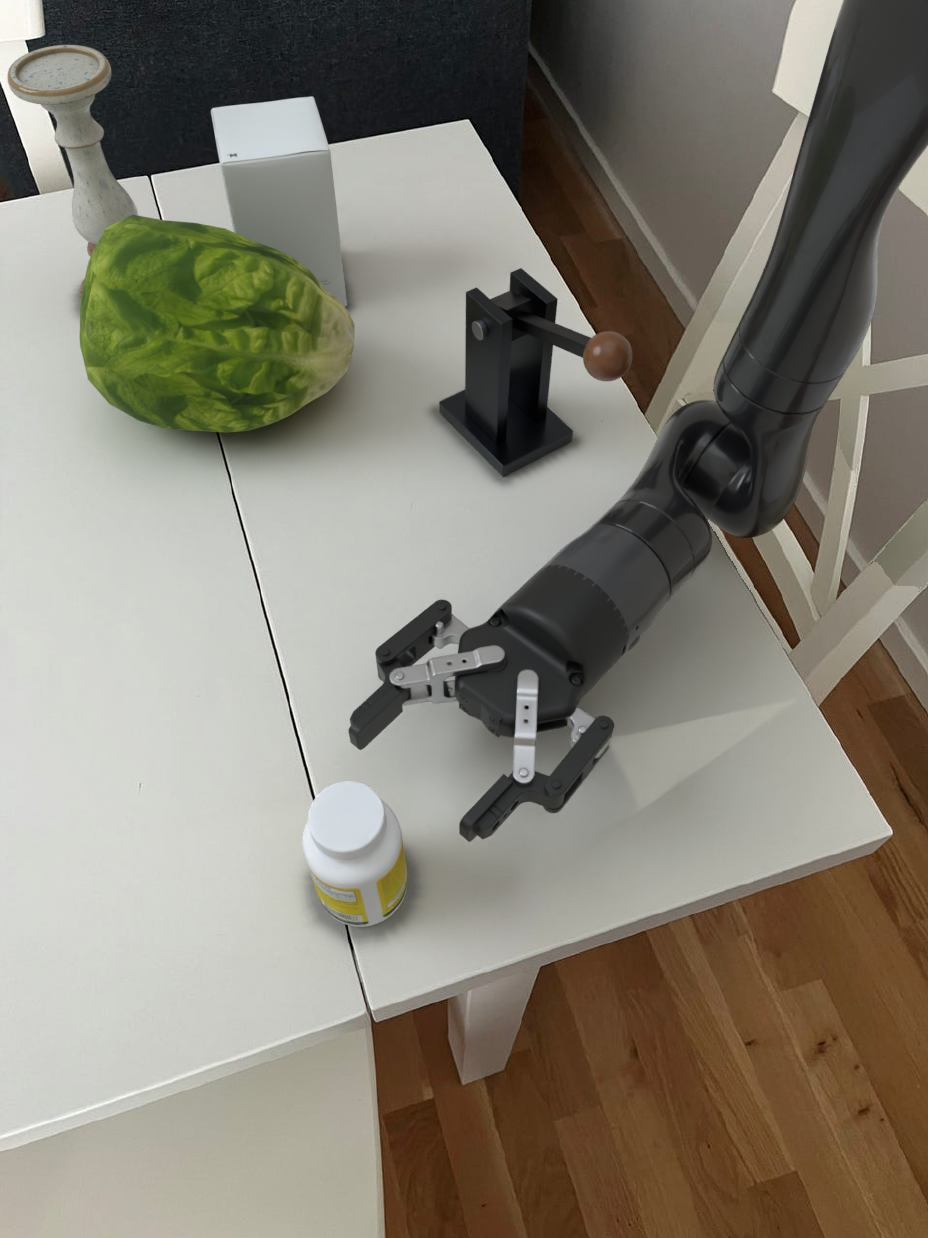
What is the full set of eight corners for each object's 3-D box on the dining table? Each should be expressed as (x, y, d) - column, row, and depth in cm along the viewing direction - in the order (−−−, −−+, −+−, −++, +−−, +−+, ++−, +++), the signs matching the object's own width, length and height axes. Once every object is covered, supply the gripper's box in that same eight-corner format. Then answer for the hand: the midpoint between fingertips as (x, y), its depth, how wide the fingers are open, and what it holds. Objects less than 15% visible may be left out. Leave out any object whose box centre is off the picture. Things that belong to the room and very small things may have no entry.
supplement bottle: (394, 829, 61) (383, 756, 53) (419, 912, 58) (412, 847, 50) (308, 856, 60) (284, 785, 52) (329, 941, 57) (307, 880, 49)
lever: (644, 376, 65) (641, 330, 63) (606, 395, 64) (602, 349, 62) (519, 323, 75) (513, 282, 73) (485, 339, 74) (478, 298, 72)
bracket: (572, 441, 80) (589, 310, 70) (502, 477, 78) (509, 347, 67) (506, 379, 84) (513, 247, 74) (439, 412, 82) (435, 280, 72)
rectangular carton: (350, 308, 90) (332, 149, 78) (251, 323, 89) (217, 164, 76) (334, 250, 95) (315, 92, 83) (241, 263, 94) (208, 104, 81)
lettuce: (334, 496, 80) (380, 332, 70) (58, 450, 74) (66, 263, 64) (327, 386, 91) (367, 230, 81) (88, 338, 85) (98, 163, 75)
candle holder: (199, 288, 91) (141, 60, 75) (128, 338, 87) (50, 108, 71) (133, 254, 94) (63, 28, 78) (61, 301, 90) (-28, 72, 74)
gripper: (499, 514, 62) (311, 678, 55) (688, 638, 57) (507, 838, 50) (495, 586, 68) (326, 742, 61) (666, 704, 63) (502, 891, 56)
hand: (407, 785), depth 55 cm, fingers open, 8 cm apart
